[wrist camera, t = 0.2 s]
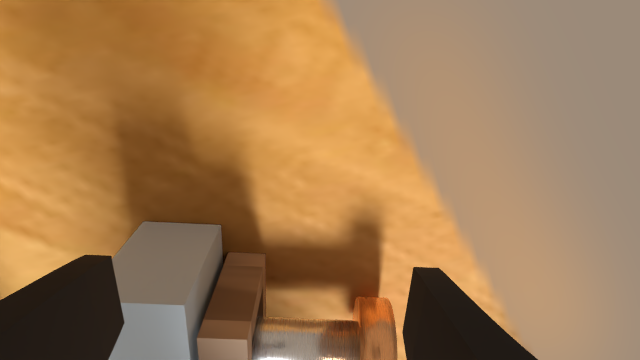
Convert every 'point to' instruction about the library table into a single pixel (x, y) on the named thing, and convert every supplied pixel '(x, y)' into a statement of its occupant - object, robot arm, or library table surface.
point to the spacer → (234, 309)
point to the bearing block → (166, 289)
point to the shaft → (330, 335)
